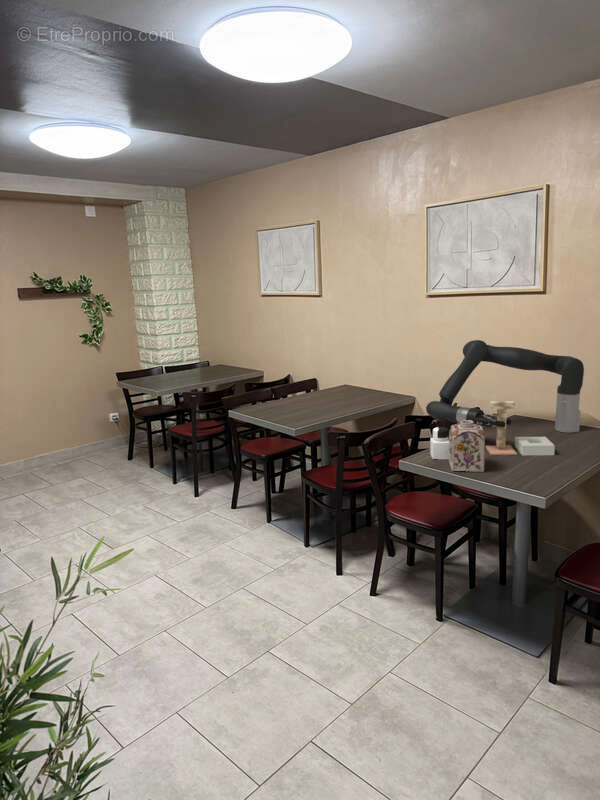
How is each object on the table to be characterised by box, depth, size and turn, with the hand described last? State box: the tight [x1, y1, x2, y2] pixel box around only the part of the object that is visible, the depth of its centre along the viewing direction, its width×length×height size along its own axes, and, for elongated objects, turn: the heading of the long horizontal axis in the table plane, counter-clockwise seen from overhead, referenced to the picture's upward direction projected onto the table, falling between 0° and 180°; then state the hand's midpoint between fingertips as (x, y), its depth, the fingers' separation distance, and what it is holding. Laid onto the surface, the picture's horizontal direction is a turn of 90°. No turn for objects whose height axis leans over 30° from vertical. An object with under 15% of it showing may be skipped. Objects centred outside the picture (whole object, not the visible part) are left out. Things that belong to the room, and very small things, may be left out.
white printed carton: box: [429, 426, 449, 460], centre depth 222 cm, size 7×7×12 cm
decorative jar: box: [448, 420, 486, 473], centre depth 208 cm, size 12×12×18 cm
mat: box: [485, 445, 517, 456], centre depth 227 cm, size 10×10×1 cm
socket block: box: [514, 436, 556, 456], centre depth 225 cm, size 12×12×4 cm
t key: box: [489, 400, 516, 447], centre depth 224 cm, size 9×3×18 cm, turn 83°
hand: (507, 423), depth 222 cm, fingers closed on t key, 4 cm apart
